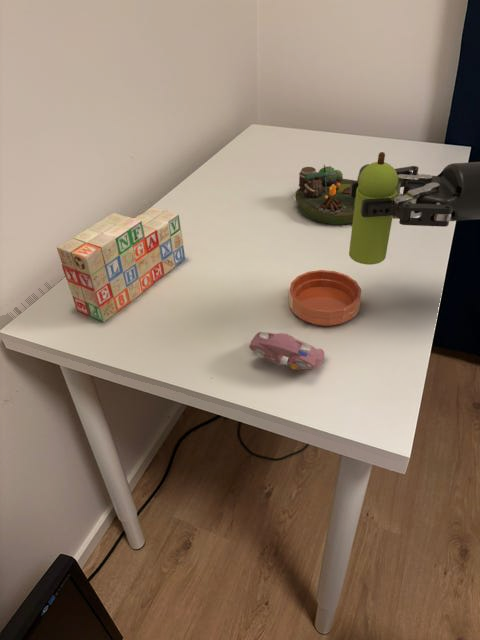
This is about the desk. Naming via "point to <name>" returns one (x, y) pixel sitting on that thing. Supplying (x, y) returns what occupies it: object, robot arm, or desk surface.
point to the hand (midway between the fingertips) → (356, 198)
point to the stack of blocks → (120, 259)
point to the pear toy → (372, 231)
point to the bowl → (324, 297)
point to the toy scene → (326, 195)
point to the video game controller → (286, 350)
